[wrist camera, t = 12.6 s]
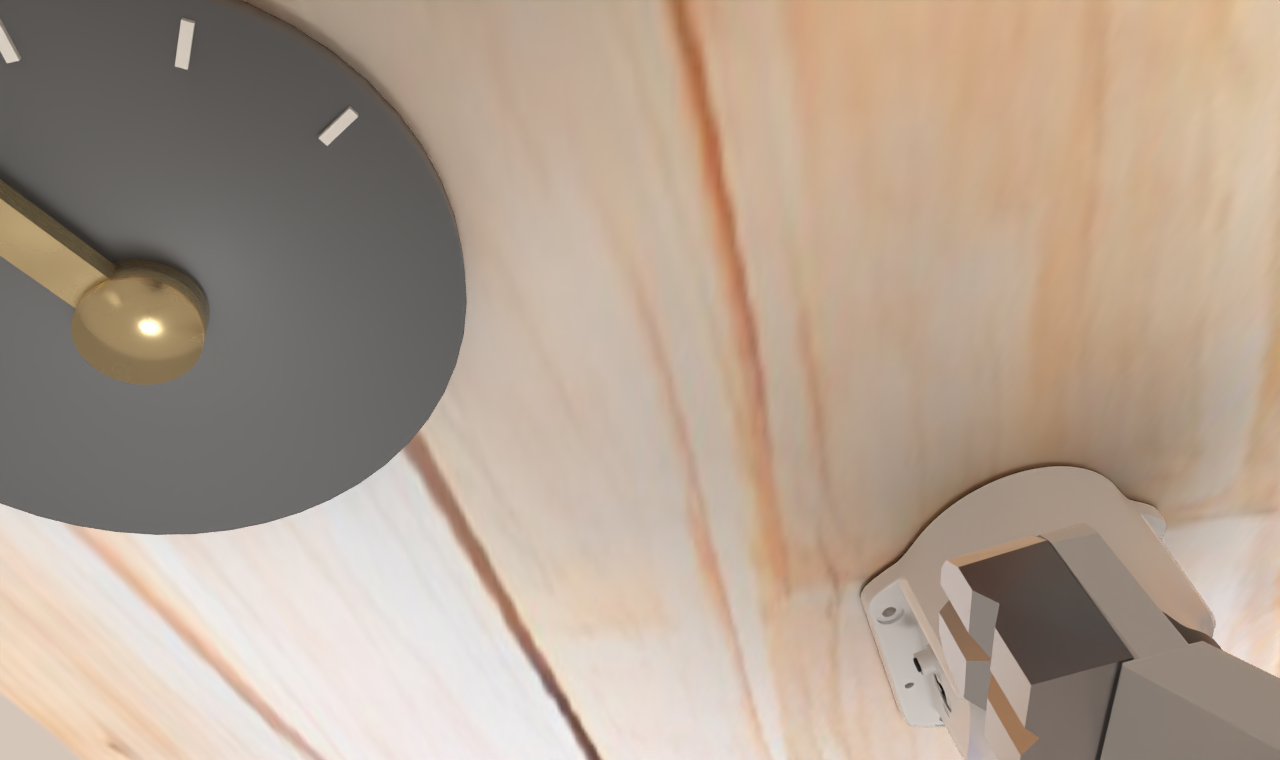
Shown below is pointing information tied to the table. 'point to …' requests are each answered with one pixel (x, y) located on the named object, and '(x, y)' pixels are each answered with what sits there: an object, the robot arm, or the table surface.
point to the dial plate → (218, 265)
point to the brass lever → (109, 297)
